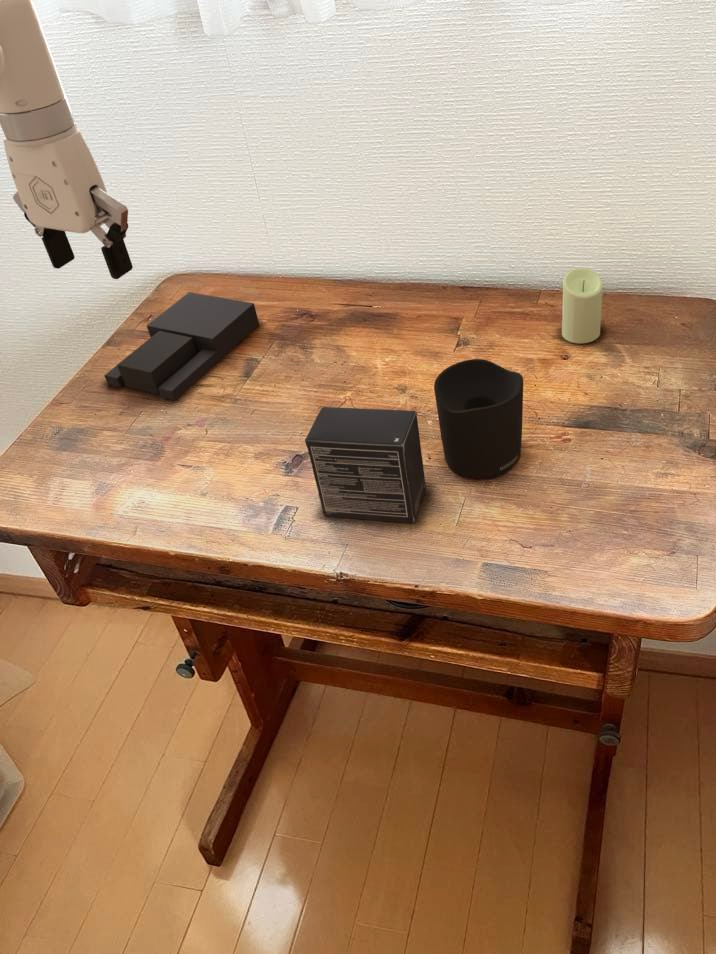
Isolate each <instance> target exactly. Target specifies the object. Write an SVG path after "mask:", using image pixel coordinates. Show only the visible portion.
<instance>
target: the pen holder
mask: <svg viewBox="0 0 716 954" xmlns="http://www.w3.org/2000/svg"><path fill="white" fill-rule="evenodd" d="M433 389H434V396H435V404H436V410H437V411H436V412H437V416H438V417H437V419H438V424H439V430H440V439H441V443H442V450H443V456H444V461H445V463H446V465H447V466H448V468H449V469H450V470H452V471H453V472H454V473H455V474H457V475H459V476H462V477H463V478H467V479H472V480H488V479H494V478H498V477H501V476H503V475H505V474H507V473H508V472H510V471H511V470H512V469H513V468H514V467H515V466H516V465H517V464H518V463H519V461H520V458H521V454H522V453H521V452H522V438H523V437H522V436H523V413H524V411H523V409H524V407H523V406H524V377H523V375H522V374H521V373H519V372H516V371H514V370H513V371H512V370H509V369H506V368H504V367H502V366H501V365H499V364H497V363H495V362H493V361H490V360H488V359H482V358H472V359H466V360H462V361H459V362H456V363H453V364H451V365H449V366H448V367H446V368H445V369H443V370H442V371H441V372H440V373H439V374H438V375H437V377H436V378H435V381H434V383H433Z"/></svg>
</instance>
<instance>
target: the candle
mask: <svg viewBox="0 0 716 954" xmlns="http://www.w3.org/2000/svg"><path fill="white" fill-rule="evenodd" d="M603 290H604V281H603V279H602V277H601V276H600V275H599V273H597V272H596V271H594V270H593V269H590V268H587V267H577V268H573V269H570V271H568V272H566V273H565V275H564V276H563V280H562V311H561V313H562V314H561V336H562V338H563V339H564V340H566V341H567V342H570V343H573V344H577V345H578V344H579V345H581V344H583V345H584V344H589V343H591V342H594V341H595V340H597V339H598V338H599V337H600V336H601V324H602V323H601V322H602V307H603V294H604V292H603Z"/></svg>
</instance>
